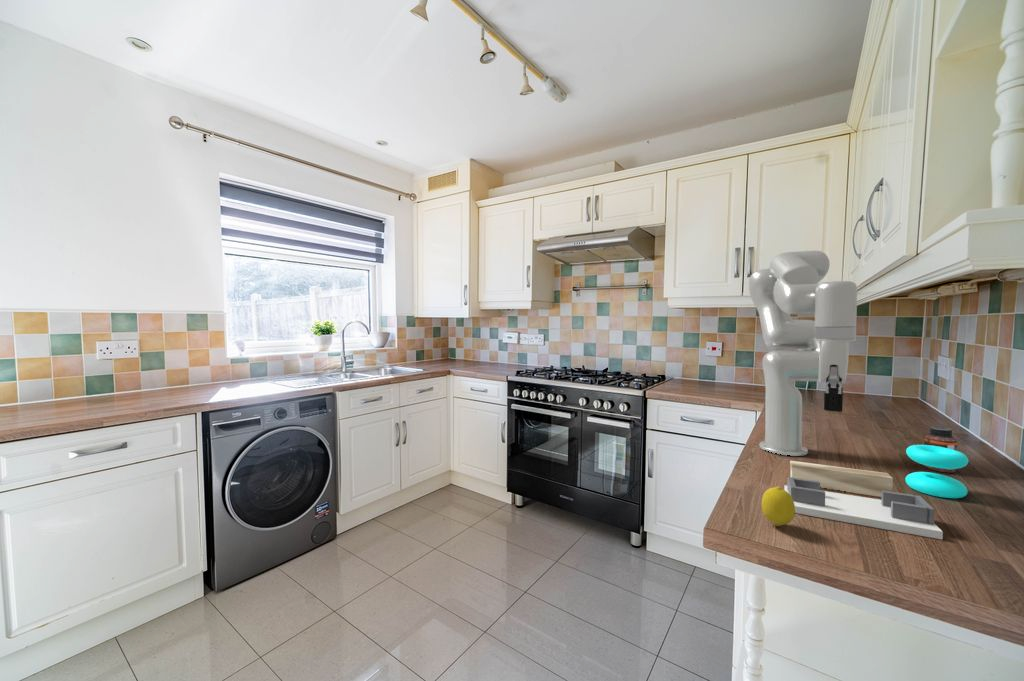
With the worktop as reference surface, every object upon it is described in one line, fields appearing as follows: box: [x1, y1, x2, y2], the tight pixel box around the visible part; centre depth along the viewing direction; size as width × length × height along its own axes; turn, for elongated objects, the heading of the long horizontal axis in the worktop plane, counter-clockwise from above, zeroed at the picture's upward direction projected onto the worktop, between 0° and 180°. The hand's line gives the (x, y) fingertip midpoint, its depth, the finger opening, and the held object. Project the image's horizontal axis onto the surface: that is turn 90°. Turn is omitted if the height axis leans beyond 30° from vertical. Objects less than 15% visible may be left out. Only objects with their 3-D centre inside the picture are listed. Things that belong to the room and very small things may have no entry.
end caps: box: [786, 476, 935, 525], centre depth 83 cm, size 7×22×3 cm, turn 61°
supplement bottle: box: [923, 426, 958, 474], centre depth 106 cm, size 6×6×11 cm
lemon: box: [761, 486, 796, 527], centre depth 78 cm, size 6×6×8 cm
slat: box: [789, 460, 894, 498], centre depth 96 cm, size 4×19×5 cm, turn 61°
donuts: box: [905, 444, 969, 499], centre depth 93 cm, size 10×10×10 cm
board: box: [783, 484, 944, 540], centre depth 83 cm, size 12×23×2 cm, turn 61°
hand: (833, 407), depth 93 cm, fingers open, 9 cm apart
